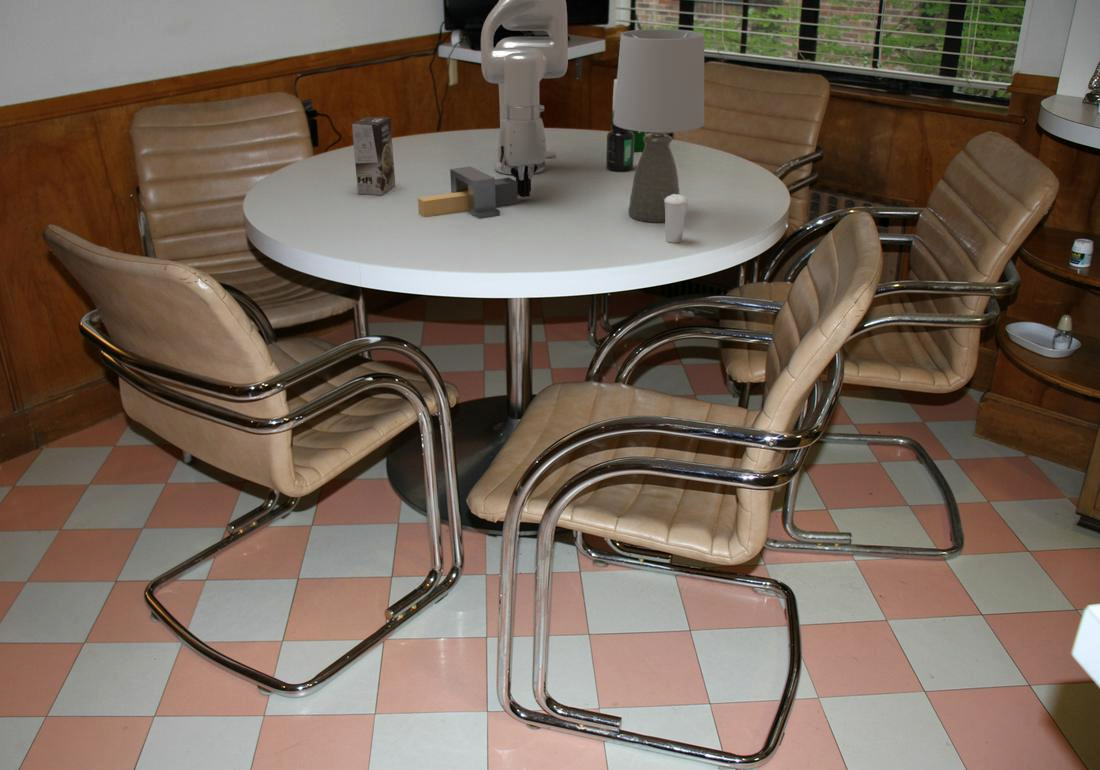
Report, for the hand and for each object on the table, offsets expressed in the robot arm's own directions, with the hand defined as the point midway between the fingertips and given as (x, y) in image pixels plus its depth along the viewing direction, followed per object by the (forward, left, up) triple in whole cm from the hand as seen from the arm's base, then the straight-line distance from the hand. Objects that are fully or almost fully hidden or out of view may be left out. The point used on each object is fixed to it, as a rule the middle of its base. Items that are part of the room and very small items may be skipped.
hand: (523, 195), depth 223 cm
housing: (+12, 0, -1) cm, 13 cm away
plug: (+14, -1, -1) cm, 14 cm away
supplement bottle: (-35, -13, -1) cm, 37 cm away
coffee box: (+25, -25, -1) cm, 36 cm away
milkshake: (-12, +41, -1) cm, 42 cm away
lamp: (-19, +25, -1) cm, 31 cm away
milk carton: (-49, -30, -1) cm, 57 cm away
